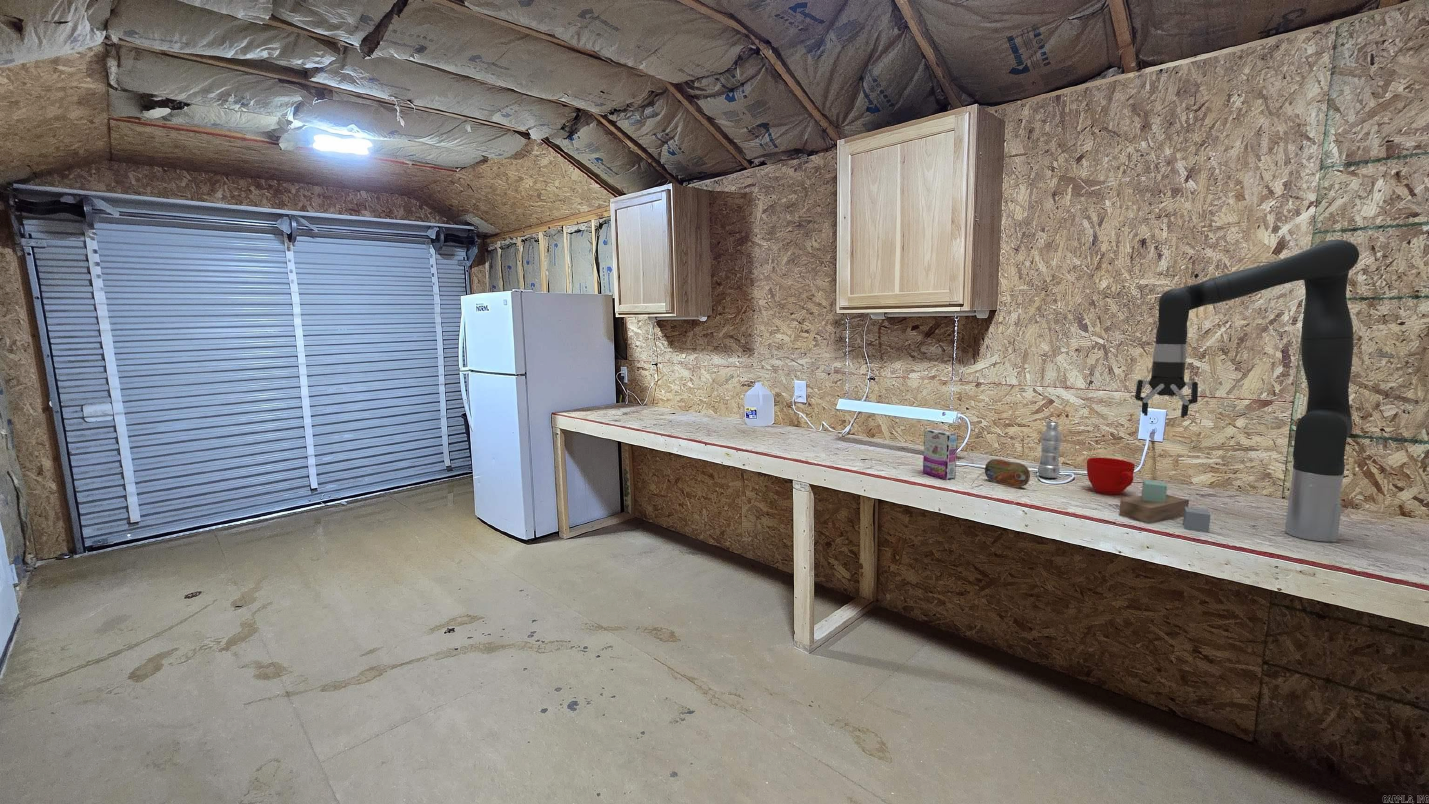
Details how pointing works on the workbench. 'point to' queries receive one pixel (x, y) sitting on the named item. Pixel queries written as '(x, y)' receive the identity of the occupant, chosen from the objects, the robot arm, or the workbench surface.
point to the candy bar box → (940, 453)
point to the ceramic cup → (1110, 474)
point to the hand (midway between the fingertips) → (1163, 416)
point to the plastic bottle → (1050, 451)
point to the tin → (1007, 473)
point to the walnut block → (1152, 509)
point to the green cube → (1154, 491)
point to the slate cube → (1196, 519)
